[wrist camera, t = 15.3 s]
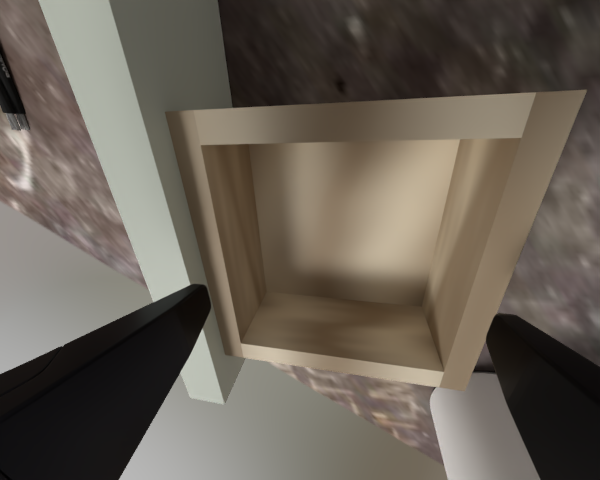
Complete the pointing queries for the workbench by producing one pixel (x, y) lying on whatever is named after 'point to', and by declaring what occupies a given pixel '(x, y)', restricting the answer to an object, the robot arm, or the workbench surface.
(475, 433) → the can
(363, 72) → the workbench surface
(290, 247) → the wooden drawer box
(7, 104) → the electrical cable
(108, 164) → the panel
